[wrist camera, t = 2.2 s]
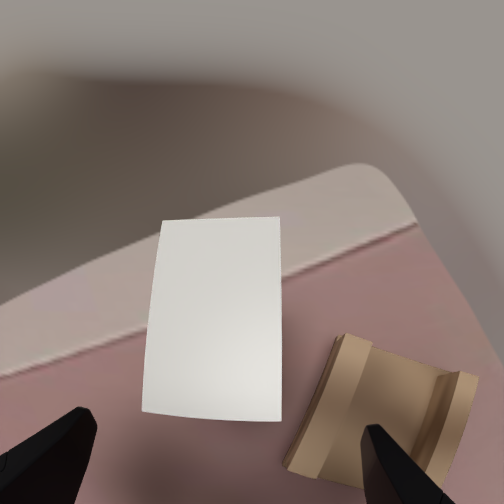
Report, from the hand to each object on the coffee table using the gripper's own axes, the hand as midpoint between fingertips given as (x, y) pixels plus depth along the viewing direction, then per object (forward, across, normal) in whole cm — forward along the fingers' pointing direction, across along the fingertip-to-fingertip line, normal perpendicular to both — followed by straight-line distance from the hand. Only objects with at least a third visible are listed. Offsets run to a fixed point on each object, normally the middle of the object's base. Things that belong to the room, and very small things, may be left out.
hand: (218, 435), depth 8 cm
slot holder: (+7, -8, +8) cm, 13 cm away
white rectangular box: (+10, 0, +5) cm, 11 cm away
